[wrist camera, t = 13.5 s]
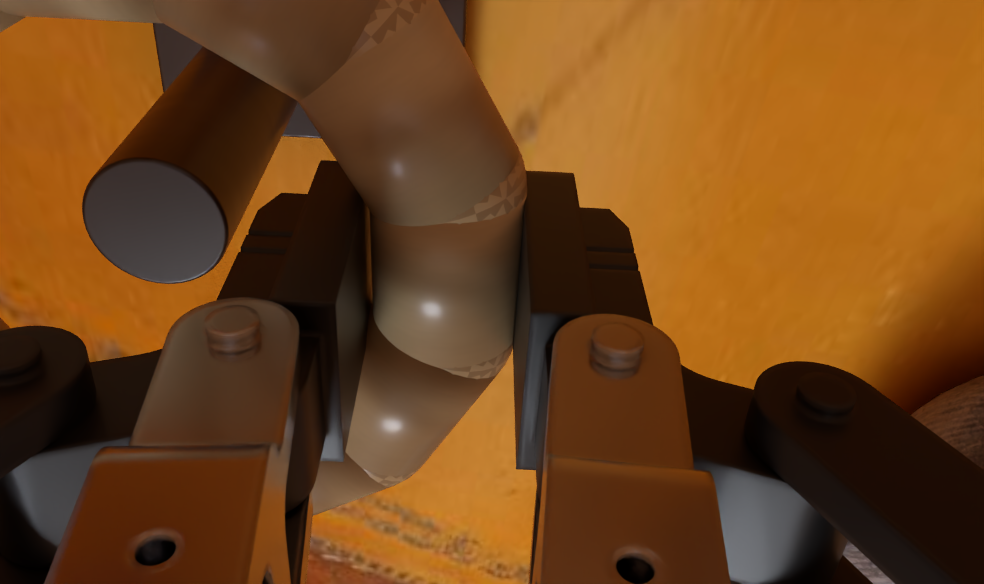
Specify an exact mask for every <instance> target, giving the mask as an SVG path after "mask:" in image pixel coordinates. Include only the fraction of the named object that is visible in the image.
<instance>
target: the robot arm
mask: <svg viewBox="0 0 984 584" xmlns="http://www.w3.org/2000/svg"><path fill="white" fill-rule="evenodd" d="M526 174H527V197H526V199H525V203H524V216H523V228H522V241H521V253H520V266H519V278H518V291H517V303H516V316H515V328H514V341H513V364H514V401H515V438H516V469H524V470H536V480H537V491H536V500H535V508H534V517H533V530H532V543H531V556H530V569H529V583H528V584H873V583H872V582H871V581H870V580H869V579H868V578H867V577H866V576H865V575H863V574H862V573H861V572H860V571H859V570H858V569H857V568H856V567H855V566H854V565H853V564H852V563H851V562H850V561H849V560H848V559H847V558H846V557H845V556H843V552H844V550H845V547H846V545H847V542H848V540H849V541H850V542H851V543H852V544H853V545H854V546H855V547H856V548H857V549H858V550H859V551H860V552H861V553H863V554H864V555H865V556H866V557H867V558H868V559H869V560H870V561H871V562H872V563H873V564H874V565H875V566H877V567H878V568H879V569H880V570H881V571H882V572H883V573H884V574H885V575H886V576H887V577H888V578H889V579H891V580H892V581H893V582H894V583H895V584H984V470H983V469H982V468H981V467H979V466H978V465H977V464H975V463H974V462H973V461H971V460H970V459H969V458H967V457H966V456H965V455H963V454H962V453H960V452H959V451H958V450H956V449H955V448H954V447H952V446H951V445H950V444H948V443H947V442H946V441H944V440H943V439H942V438H940V437H939V436H938V435H936V434H935V433H934V432H932V431H931V430H930V429H928V428H927V427H926V426H924V425H923V424H922V423H920V422H919V421H918V420H916V419H915V418H914V417H912V416H911V415H910V414H908V413H907V412H906V411H904V410H903V409H902V408H900V407H899V406H898V405H896V404H895V403H894V402H892V401H891V400H890V399H888V398H887V397H886V396H884V395H883V394H882V393H880V392H879V391H878V390H876V389H875V388H874V387H872V386H871V385H869V384H868V383H866V382H865V381H863V380H862V379H860V378H859V377H857V376H855V375H853V374H851V373H849V372H846V371H844V370H841V369H839V368H836V367H832V366H829V365H825V364H820V363H814V362H800V361H795V362H786V363H781V364H777V365H775V366H772V367H770V368H768V369H767V370H765V371H764V372H763V373H762V374H761V375H760V376H759V377H758V379H757V381H756V384H755V387H754V390H752V389H749V388H745V387H741V386H737V385H733V384H729V383H725V382H721V381H718V380H714V379H711V378H708V377H705V376H703V375H700V374H698V373H695V372H693V371H691V370H689V369H688V368H686V367H684V366H683V365H681V363H680V356H679V352H678V349H677V347H676V345H675V344H674V342H673V341H672V340H671V339H670V338H669V337H668V336H667V335H666V334H665V333H664V332H663V331H661V330H660V329H658V328H656V327H655V326H653V322H652V318H651V315H650V311H649V307H648V303H647V299H646V295H645V291H644V287H643V283H642V279H641V275H640V271H638V263H637V259H636V255H635V253H634V247H633V243H632V239H631V235H630V231H629V228H628V227H627V226H626V225H625V224H624V223H623V222H622V221H621V220H620V219H619V218H618V217H617V216H616V215H615V214H614V213H613V212H612V211H611V210H610V209H599V208H580V207H579V201H578V195H577V189H576V183H575V177H574V174H573V173H562V172H542V171H526ZM372 304H373V302H372V272H371V242H370V212H369V208H368V207H367V205H366V204H365V202H364V201H363V199H362V198H361V196H360V195H359V193H358V192H357V190H356V189H355V187H354V186H353V184H352V183H351V181H350V180H349V178H348V177H347V175H346V174H345V172H344V171H343V169H342V168H341V166H340V165H339V163H338V161H324V160H321V161H320V163H319V166H318V168H317V171H316V174H315V176H314V179H313V182H312V184H311V187H310V190H309V192H308V194H294V193H281V194H279V195H278V196H277V197H275V198H274V199H273V200H271V201H270V202H269V203H267V204H266V205H264V206H263V207H262V208H260V209H259V210H258V211H257V214H256V216H255V218H254V220H253V222H252V224H251V227H250V229H249V234H248V235H246V237H245V240H244V242H243V244H242V246H241V252H239V253H238V255H237V257H236V259H235V261H234V263H233V266H232V268H231V270H230V272H229V274H228V276H227V278H226V281H225V283H224V285H223V287H222V289H221V291H220V294H219V296H218V298H217V300H216V301H213V302H209V303H206V304H204V305H201V306H199V307H196V308H194V309H192V310H190V311H189V312H187V313H186V314H184V315H183V316H181V317H180V318H179V319H178V320H177V321H176V322H175V323H174V324H173V326H172V327H171V329H170V331H169V333H168V335H167V338H166V340H165V343H164V346H163V349H160V350H157V351H153V352H150V353H145V354H140V355H134V356H128V357H122V358H115V359H109V360H103V361H96V362H89V358H88V354H87V350H86V346H85V345H84V343H83V341H82V340H81V339H80V338H79V337H78V336H76V335H74V334H73V333H71V332H69V331H66V330H63V329H60V328H55V327H48V326H25V327H16V328H11V329H6V330H2V331H0V584H306V578H307V568H308V558H309V548H310V538H311V527H312V517H313V495H312V489H313V487H314V484H315V481H316V477H317V473H318V468H319V464H320V461H335V462H344V456H345V451H346V446H347V441H348V436H349V431H350V426H351V421H352V416H353V411H354V406H355V401H356V396H357V391H358V386H359V381H360V375H361V370H362V365H363V360H364V355H365V350H366V341H367V329H368V319H369V313H370V308H371V305H372Z"/></svg>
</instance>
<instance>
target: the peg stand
mask: <svg viewBox="0 0 984 584" xmlns="http://www.w3.org/2000/svg"><path fill="white" fill-rule="evenodd" d="M438 1H439V2H440V4H441V6H442V8H443V10H444V12H445V14H446V15H447V17H448V19H449V21H450V23H451V25H452V27H453V28H454V30H455V32H456V34H457V36H458V38H459V39H460V41H461V43H462V45H463V47H464V49H465V37H466V10H467V0H438ZM153 28H154V34H155V41H156V47H157V54H158V60H159V66H160V73H161V79H162V86H163V92H164V93H163V94H162V96H161V97H160V98H159V99H158V100H157V101H156V103H155V104H154V105H153V106H152V107H151V109H150V110H149V111H148V112H147V113H146V115H145V116H144V117H143V118H142V119H141V120H140V122H139V123H138V124H137V125H136V126H135V128H134V129H133V130H132V131H131V132H130V134H129V135H128V136H127V137H126V138H125V139H124V141H123V142H122V143H121V144H120V145H119V147H118V148H117V149H116V150H115V151H114V153H113V154H112V155H111V156H110V157H109V158H108V160H107V161H106V162H105V163H104V164H103V166H102V167H101V168H100V169H99V170H98V171H97V173H96V174H95V175H94V176H93V178H92V179H91V180H90V182H89V183H88V185H87V187H86V190H85V193H84V196H83V202H82V212H83V219H84V223H85V227H86V230H87V232H88V234H89V236H90V238H91V240H92V241H93V243H94V245H95V246H96V247H97V248H98V250H99V251H100V252H101V253H102V254H103V255H104V256H105V257H106V258H107V259H108V260H109V261H110V262H111V263H113V264H114V265H115V266H117V267H118V268H120V269H121V270H123V271H125V272H127V273H128V274H130V275H133V276H135V277H137V278H140V279H143V280H147V281H151V282H156V283H165V284H175V283H183V282H187V281H191V280H194V279H196V278H199V277H201V276H203V275H205V274H206V273H208V272H209V271H211V270H212V269H213V268H214V267H215V266H216V265H217V264H218V263H219V262H220V260H221V259H222V257H223V256H224V254H225V252H226V249H227V247H228V245H229V243H230V241H231V239H232V237H233V235H234V233H235V231H236V229H237V227H238V225H239V223H240V221H241V219H242V217H243V215H244V213H245V211H246V208H247V206H248V204H249V202H250V200H251V198H252V196H253V194H254V192H255V190H256V188H257V186H258V184H259V182H260V180H261V178H262V176H263V174H264V172H265V170H266V168H267V165H268V163H269V161H270V159H271V157H272V155H273V153H274V151H275V149H276V147H277V145H278V143H279V141H280V139H281V137H282V136H290V137H309V138H322V137H321V136H320V134H319V133H318V131H317V130H316V128H315V127H314V125H313V124H312V122H311V121H310V119H309V118H308V116H307V115H306V113H305V112H304V110H303V109H302V107H301V106H300V104H299V103H298V101H297V100H295V99H294V98H292V97H290V96H288V95H287V94H285V93H283V92H281V91H280V90H278V89H276V88H275V87H273V86H271V85H269V84H268V83H266V82H264V81H262V80H261V79H259V78H257V77H255V76H254V75H252V74H250V73H249V72H247V71H245V70H243V69H242V68H240V67H238V66H236V65H235V64H233V63H231V62H229V61H228V60H226V59H224V58H223V57H221V56H219V55H217V54H216V53H214V52H212V51H210V50H209V49H207V48H205V47H204V46H202V45H200V44H198V43H197V42H195V41H193V40H191V39H190V38H188V37H186V36H184V35H183V34H181V33H179V32H178V31H176V30H174V29H172V28H171V27H169V26H167V25H165V24H164V23H153Z"/></svg>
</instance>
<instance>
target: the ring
mask: <svg viewBox="0 0 984 584" xmlns="http://www.w3.org/2000/svg"><path fill="white" fill-rule="evenodd" d="M26 16H30V17H49V18H69V19H89V20H108V21H128V22H147V23H164V24H165V25H167V26H169V27H171V28H172V29H174V30H176V31H178V32H179V33H181V34H183V35H184V36H186V37H188V38H190V39H191V40H193V41H195V42H197V43H198V44H200V45H202V46H204V47H205V48H207V49H209V50H210V51H212V52H214V53H216V54H217V55H219V56H221V57H223V58H224V59H226V60H228V61H229V62H231V63H233V64H235V65H236V66H238V67H240V68H242V69H243V70H245V71H247V72H249V73H250V74H252V75H254V76H255V77H257V78H259V79H261V80H262V81H264V82H266V83H268V84H269V85H271V86H273V87H275V88H276V89H278V90H280V91H281V92H283V93H285V94H287V95H288V96H290V97H292V98H294V99H295V100H297V101H298V103H299V104H300V106H301V107H302V109H303V110H304V112H305V113H306V115H307V116H308V118H309V119H310V121H311V122H312V124H313V125H314V127H315V128H316V130H317V131H318V133H319V134H320V136H321V137H322V139H323V140H324V142H325V143H326V145H327V146H328V148H329V149H330V151H331V152H332V154H333V155H334V157H335V158H336V160H337V161H338V163H339V165H340V166H341V168H342V169H343V171H344V172H345V174H346V175H347V177H348V178H349V180H350V181H351V183H352V184H353V186H354V187H355V189H356V190H357V192H358V193H359V195H360V196H361V198H362V199H363V201H364V202H365V204H366V205H367V207H368V208H369V212H370V242H371V272H372V302H373V304H372V305H371V308H370V313H369V319H368V329H367V341H366V350H365V355H364V360H363V365H362V370H361V375H360V381H359V386H358V391H357V396H356V401H355V406H354V411H353V416H352V421H351V426H350V431H349V436H348V441H347V446H346V451H345V456H344V462H335V461H320V464H319V468H318V473H317V477H316V481H315V484H314V487H313V489H312V495H313V515H316V514H319V513H322V512H324V511H327V510H330V509H332V508H335V507H338V506H340V505H343V504H346V503H348V502H351V501H354V500H356V499H359V498H362V497H364V496H367V495H370V494H373V493H375V492H378V491H381V490H383V489H386V488H389V487H391V486H394V485H396V484H398V483H400V482H402V481H404V480H406V479H408V478H409V477H411V476H412V475H413V474H414V473H415V472H416V471H418V470H419V469H420V468H421V466H422V465H423V464H424V463H425V462H426V461H427V460H428V458H429V457H430V456H431V455H432V453H433V452H434V451H435V450H436V449H437V447H438V446H439V445H440V444H441V443H442V441H443V440H444V439H445V438H446V436H447V435H448V434H449V433H450V432H451V430H452V429H453V428H454V427H455V425H456V424H457V423H458V422H459V421H460V419H461V418H462V417H463V416H464V414H465V413H466V412H467V411H468V410H469V408H470V407H471V406H472V405H473V404H474V402H475V401H476V400H477V399H478V397H479V396H480V395H481V394H482V393H483V391H484V390H485V389H486V388H487V386H488V385H489V384H490V383H491V382H492V380H493V379H494V378H495V377H496V375H497V374H498V373H499V372H500V371H501V369H502V368H503V366H504V365H505V364H506V362H507V360H508V358H509V356H510V354H511V352H512V349H513V341H514V328H515V316H516V303H517V291H518V278H519V266H520V253H521V241H522V228H523V216H524V203H525V199H526V197H527V174H526V170H525V165H524V161H523V159H522V155H521V153H520V151H519V149H518V147H517V145H516V143H515V141H514V139H513V138H512V136H511V134H510V132H509V130H508V128H507V126H506V125H505V123H504V121H503V119H502V117H501V115H500V113H499V112H498V110H497V108H496V106H495V104H494V102H493V101H492V99H491V97H490V95H489V93H488V91H487V89H486V88H485V86H484V84H483V82H482V80H481V78H480V76H479V75H478V73H477V71H476V69H475V67H474V65H473V64H472V62H471V60H470V58H469V56H468V54H467V52H466V51H465V49H464V47H463V45H462V43H461V41H460V39H459V38H458V36H457V34H456V32H455V30H454V28H453V27H452V25H451V23H450V21H449V19H448V17H447V15H446V14H445V12H444V10H443V8H442V6H441V4H440V2H439V1H438V0H0V32H2V31H3V30H5V29H7V28H8V27H10V26H12V25H13V24H15V23H16V22H18V21H20V20H21V19H23V18H25V17H26ZM6 329H11V328H10V327H9V326H8V325H7V324H6V323H5V322H4V321H3V320H2V319H1V318H0V331H2V330H6Z"/></svg>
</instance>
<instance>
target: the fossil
mask: <svg viewBox="0 0 984 584" xmlns="http://www.w3.org/2000/svg"><path fill="white" fill-rule="evenodd" d="M911 416H912V417H914V418H915V419H916V420H918V421H919V422H920V423H922V424H923V425H924V426H926V427H927V428H928V429H930V430H931V431H932V432H934V433H935V434H936V435H938V436H939V437H940V438H942V439H943V440H944V441H946V442H947V443H948V444H950V445H951V446H952V447H954V448H955V449H956V450H958V451H959V452H960V453H962V454H963V455H965V456H966V457H967V458H969V459H970V460H971V461H973V462H974V463H975V464H977V465H978V466H979V467H981V468H982V469H983V470H984V375H983V376H980V377H977V378H975V379H972V380H970V381H968V382H966V383H963V384H961V385H959V386H957V387H955V388H953V389H950V390H948V391H946V392H944V393H942V394H940V395H939V396H937V397H936V398H934V399H933V400H931V401H929V402H928V403H926V404H925V405H924V406H922V407H921V408H919V409H918V410H916V411H915V412H914V413H913V414H912V415H911ZM843 556H845V557H846V558H847V559H848V560H849V561H850V562H851V563H852V564H853V565H854V566H855V567H856V568H857V569H858V570H859V571H860V572H861V573H862V574H863V575H865V576H866V577H867V578H868V579H869V580H870V581H871V582H872V583H873V584H895V583H894V582H893V581H892V580H891V579H889V578H888V577H887V576H886V575H885V574H884V573H883V572H882V571H881V570H880V569H879V568H878V567H877V566H875V565H874V564H873V563H872V562H871V561H870V560H869V559H868V558H867V557H866V556H865V555H864V554H863V553H861V552H860V551H859V550H858V549H857V548H856V547H855V546H854V545H853V544H852V543H851V542H850V541H849V540H848V542H847V545H846V547H845V550H844V552H843Z"/></svg>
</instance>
